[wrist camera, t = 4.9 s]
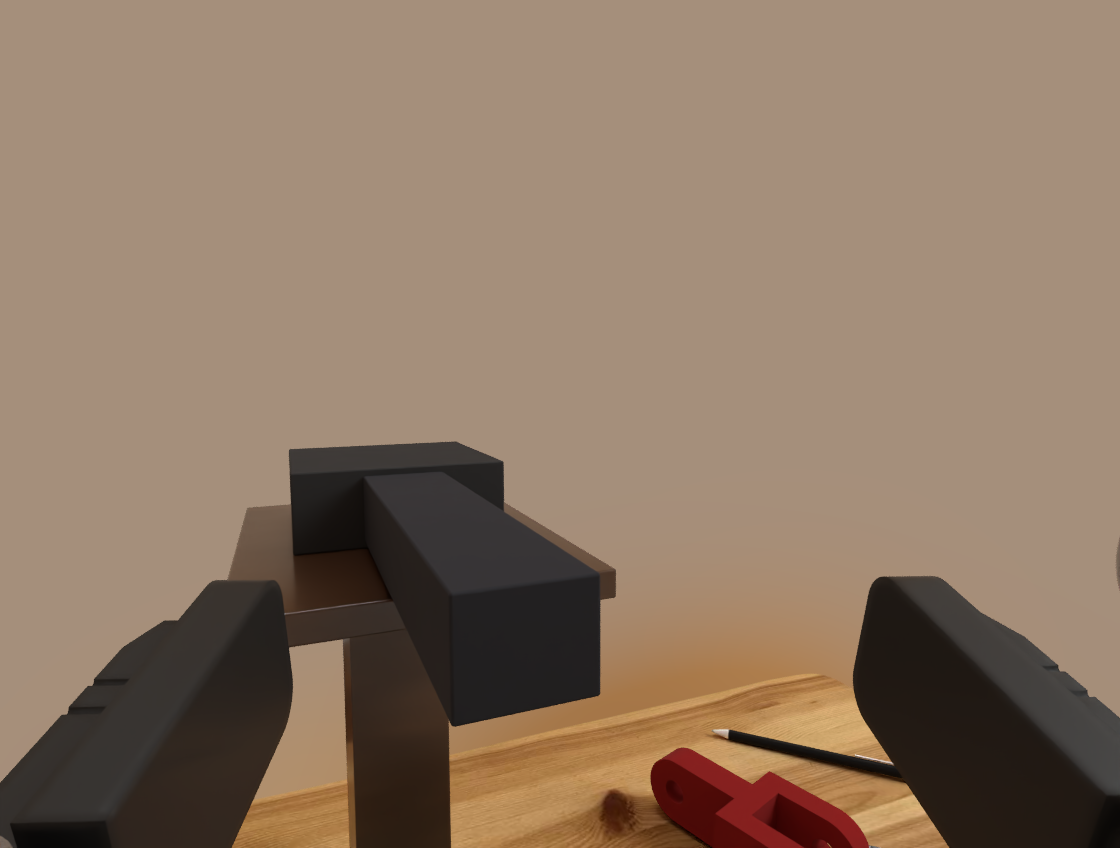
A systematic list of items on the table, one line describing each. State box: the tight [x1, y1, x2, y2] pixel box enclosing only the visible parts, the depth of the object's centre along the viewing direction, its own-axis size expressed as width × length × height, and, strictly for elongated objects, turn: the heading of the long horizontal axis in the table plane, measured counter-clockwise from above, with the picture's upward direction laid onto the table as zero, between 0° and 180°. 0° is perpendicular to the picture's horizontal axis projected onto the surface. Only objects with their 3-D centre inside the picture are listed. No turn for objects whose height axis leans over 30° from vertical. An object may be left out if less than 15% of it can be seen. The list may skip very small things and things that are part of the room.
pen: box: [712, 730, 903, 779], centre depth 62 cm, size 1×19×1 cm
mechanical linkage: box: [651, 748, 869, 848], centre depth 49 cm, size 16×7×5 cm, turn 42°
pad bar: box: [289, 442, 600, 727], centre depth 22 cm, size 8×22×3 cm, turn 23°
